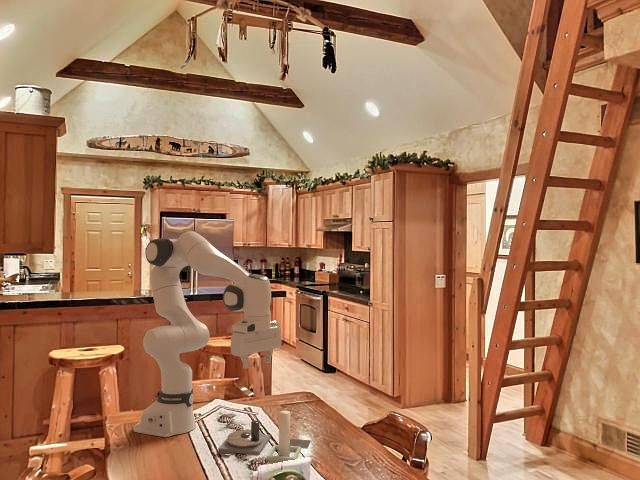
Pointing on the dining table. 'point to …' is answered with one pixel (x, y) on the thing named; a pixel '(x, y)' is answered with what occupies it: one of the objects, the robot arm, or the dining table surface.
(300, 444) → the socket plate
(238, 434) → the crank
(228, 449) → the crank base
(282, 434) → the pin
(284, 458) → the tray
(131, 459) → the dining table surface
